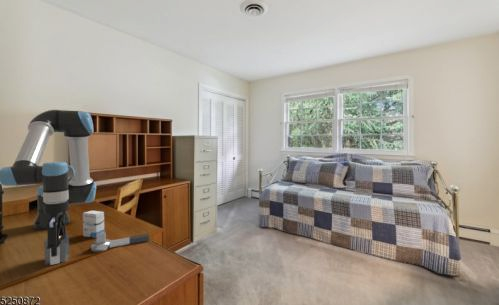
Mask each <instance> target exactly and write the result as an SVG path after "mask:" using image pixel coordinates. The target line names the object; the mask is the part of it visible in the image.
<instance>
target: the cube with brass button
mask: <svg viewBox="0 0 499 305" xmlns="http://www.w3.org/2000/svg"><path fill="white" fill-rule="evenodd" d="M69 235H70V234H69V233H66V234H62V235H59V246H60V262H62V263H66V262H67V260H68V258H69V256H70V236H69ZM43 245H44V264H45V265H46V266H50V265H49V264H50V249H47V247H48V238H46V240H45V241H44V244H43ZM65 261H66V262H65ZM45 265H44V266H45Z"/></svg>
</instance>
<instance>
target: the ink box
mask: <svg viewBox="0 0 499 305" xmlns="http://www.w3.org/2000/svg"><path fill="white" fill-rule="evenodd" d="M82 229H83V230H82V231H83V232H82V233H83V234H82V236H83V237H87V238H93V239H94V238H95V239H97V233H101V232H105V211H101V210H89V211H84V212H83V213H82Z"/></svg>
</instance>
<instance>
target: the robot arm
mask: <svg viewBox="0 0 499 305" xmlns="http://www.w3.org/2000/svg"><path fill="white" fill-rule="evenodd" d="M92 118H93V117H92V116H91V114H90V113H89V112H87V111H80V110H67V109H64V110H63V109H62V110H61V109H51V110H50V109H49V110H46V111H44V112H41V113H39V114H37V115H36V116H34V117H32V119H31V121H30V122H29V124H28V125H27V130H28V133H27V135H26V136H25V138H24V140H23V143H22V145H21V147H20V149H19V151H18V154H17V156H16V158H15V160H14V162H13V164H12V166H5V167H4V166H3V167H2V168H1V169H0V184H1V185H2V186H4V187H5V186H6V187H12V186H13V187H15V186H16V187H18V186H29V185H41V186H39V187H37V191H36V199H37V200H36V201H37V202H36V203H37V214H36V218H35V219H34V223H33V229H35V230H47V239H48V247H47V249H50V265H49V266H52V265H57V264H60V246H59V235H62V234H67V232H66V225H68V224H69V223H70V222H71V220H70V216H69V213H68V212H67V211H68V210H69V209H70V207H69V206H70V205H79V204H80V205H81V204H86V203H93V202H94V201H95V198H96V192H97V185H98V184H97V182H94V179H93V178H91V176H90V174H91V173H90V156H89V142H88V140H89V138H90V137H91V134H93V133H94V123H93V119H92ZM54 133H63V136H64V137H65V138H66V139H67V140H68V141H67V142H68V152H69V164H70V165H69V164H68V163H67V162H65V161H52V162H51V161H50V162H44V163H43V164H42V165H40V162H41V161H42V158H43V155H44V152H45V150H46V147H47V144H48V142H49V139H50V137H51V136H52V135H54Z"/></svg>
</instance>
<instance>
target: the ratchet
mask: <svg viewBox="0 0 499 305" xmlns="http://www.w3.org/2000/svg"><path fill="white" fill-rule="evenodd" d="M106 235H107V234H106V231H104V232H101V233H97V238H96V240H95V241H94V242H92V243H91V252H94V253H101V252H104V251H107V250H109V249H112V248H116V247H123V246H127V245H134V244H139V243H144V242H145V243H146V242H149V241H150V235H149V233H144V234H137V235H131V236H129V237H123V238H117V239H112V240H111V239H108V238H106V237H107V236H106Z"/></svg>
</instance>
